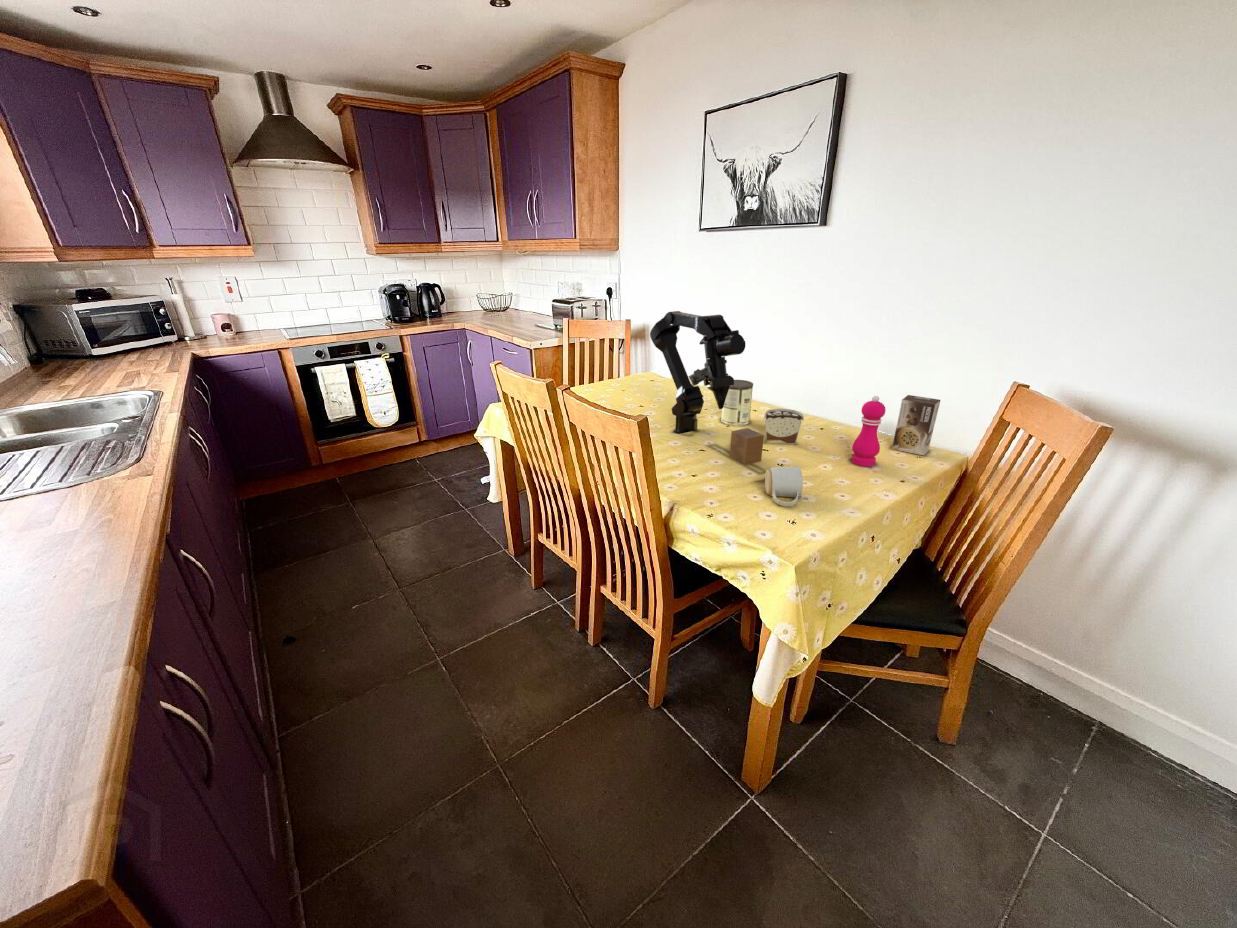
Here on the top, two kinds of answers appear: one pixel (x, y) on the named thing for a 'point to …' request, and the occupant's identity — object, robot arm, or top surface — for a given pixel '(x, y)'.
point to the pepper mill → (868, 434)
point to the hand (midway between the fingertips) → (720, 408)
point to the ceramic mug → (784, 483)
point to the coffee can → (738, 403)
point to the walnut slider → (746, 446)
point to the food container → (783, 425)
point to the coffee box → (915, 424)
